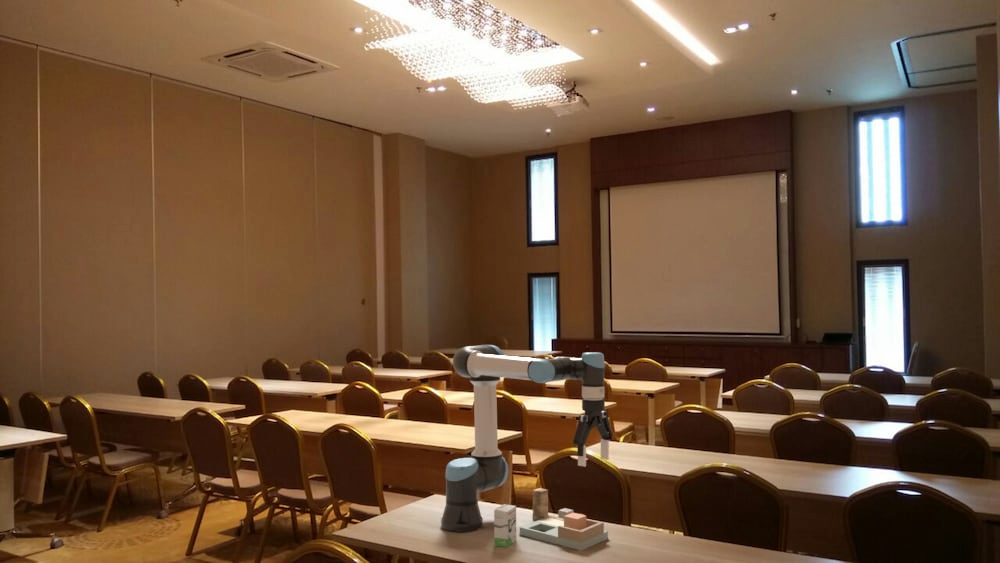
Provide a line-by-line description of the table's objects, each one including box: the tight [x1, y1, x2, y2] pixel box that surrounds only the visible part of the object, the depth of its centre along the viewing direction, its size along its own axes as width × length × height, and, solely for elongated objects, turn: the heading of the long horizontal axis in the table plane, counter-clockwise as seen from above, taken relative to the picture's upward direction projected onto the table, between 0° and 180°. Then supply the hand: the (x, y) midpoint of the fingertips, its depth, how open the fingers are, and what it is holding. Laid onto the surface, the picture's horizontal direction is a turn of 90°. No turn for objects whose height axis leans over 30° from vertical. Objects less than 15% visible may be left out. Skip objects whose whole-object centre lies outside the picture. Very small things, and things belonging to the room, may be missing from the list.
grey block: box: [557, 507, 574, 519], centre depth 269 cm, size 4×4×4 cm
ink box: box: [493, 503, 517, 548], centre depth 244 cm, size 9×5×12 cm, turn 157°
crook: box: [532, 487, 585, 522], centre depth 268 cm, size 18×9×11 cm, turn 49°
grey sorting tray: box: [519, 517, 609, 552], centre depth 250 cm, size 26×16×6 cm, turn 49°
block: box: [564, 512, 587, 530], centre depth 247 cm, size 6×6×6 cm
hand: (593, 462), depth 243 cm, fingers open, 13 cm apart
